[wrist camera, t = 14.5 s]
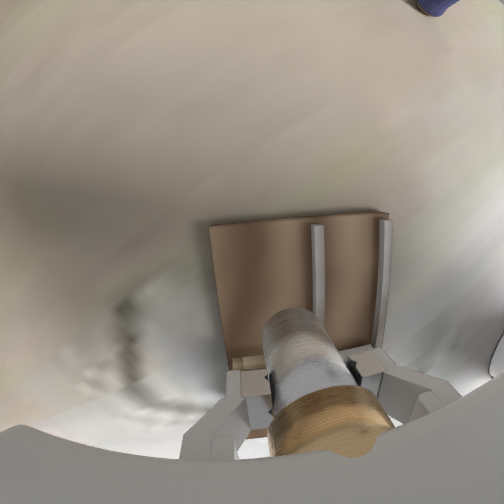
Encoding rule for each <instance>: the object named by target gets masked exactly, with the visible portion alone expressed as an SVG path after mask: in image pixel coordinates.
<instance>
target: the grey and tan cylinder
mask: <svg viewBox="0 0 504 504" xmlns="http://www.w3.org/2000/svg"><path fill="white" fill-rule="evenodd" d="M261 340H262V346H263V352H264V358H265V365H266V368H267V371H268V380H269V383H270V390H271V398H272V407H273V413H274V419H273V420H272V422H271V423H270V425H269V428H268V432H267V437H268V445H269V452H270V457H275V456H283V455H290V454H296V453H302V452H308V451H313V450H330V451H332V452H334V453H336V454H339V455H342V456H345V457H349V458H354V457H360V456H363V455H366V454H367V453H369V452H370V451H371V450H372V448H373V446H374V444H375V443H376V438H377V437H378V435H380V434H381V433H382V432H385V431H387V430H390V429H393V428H395V426H394V425H393V423H392V422H391V420H390V418H389V417H388V415H387V413H386V412H385V410H384V408H383V407H382V405H381V404H380V402H379V400H378V399H377V397H376V396H375V395H374V393H373V392H371V391H370V390H368V389H366V388H364V387H360V386H358V384H357V383H356V381H355V379H354V377H353V376H352V374H351V372H350V371H349V369H348V367H347V366H346V364H345V362H344V360H343V359H342V357H341V355H340V354H339V352H338V350H337V349H336V347H335V345H334V344H333V342H332V340H331V339H330V337H329V335H328V334H327V332H326V330H325V329H324V327H323V325H322V324H321V322H320V320H319V319H318V317H317V316H316V315H315V314H314V313H312V312H311V311H309V310H307V309H304V308H296V307H295V308H287V309H284V310H281V311H279V312H277V313H275V314H274V315H273V316H272V317H270V318H269V320H268V321H267V322H266V323H265V325H264V327H263V330H262V334H261Z"/></svg>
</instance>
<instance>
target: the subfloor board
mask: <svg viewBox="0 0 504 504" xmlns="http://www.w3.org/2000/svg"><path fill="white" fill-rule="evenodd" d="M209 233H210V241H211V249H212V257H213V265H214V273H215V281H216V288H217V295H218V302H219V309H220V316H221V322H222V329H223V335H224V342H225V348H226V354H227V360H228V366H229V371H231V370H233V360H232V358H241V357H251V356H260V355H264V352H263V346H262V340H261V334H262V330H263V327H264V325H265V323H266V322H267V321H268V320H269V318H270V317H272V316H273V315H274V314H275V313H277V312H279V311H281V310H284V309H287V308H295V307H296V308H304V309H307V310H309V311H311V312H312V313H314V314H315V315H316V316H317V317H318V319H319V320H320V322H321V324H322V325H323V327H324V329H325V330H326V332H327V334H328V335H329V337H330V339H331V340H332V342H333V344H334V345H335V347H336V349H337V350H338V351H343V350H347V349H352V348H356V347H361V346H365V345H369V344H370V345H371V346H372V347H373V348H377V347H382V341H383V335H384V328H385V321H386V313H387V304H388V294H389V283H390V269H391V247H392V220H389V213H384V212H368V213H351V214H336V215H322V216H308V217H296V218H284V219H272V220H261V221H250V222H240V223H230V224H220V225H211V226H210V227H209ZM267 432H268V428H262V429H254V430H251V431H250V433H249V434H248V436H247V437H246V439H253V438H263V437H267Z"/></svg>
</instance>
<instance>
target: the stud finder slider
mask: <svg viewBox="0 0 504 504" xmlns="http://www.w3.org/2000/svg"><path fill="white" fill-rule="evenodd" d="M370 349H374V348H373V347H372V346H371V345H370V344H369V345H365V346H361V347H356V348H352V349H347V350H343V351H338V352H339V354H340V355H341V357H342V359H343V360H345V357H346V355H350V354H354V353H359V352H363V351H367V350H370Z"/></svg>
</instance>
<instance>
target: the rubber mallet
mask: <svg viewBox="0 0 504 504" xmlns="http://www.w3.org/2000/svg"><path fill="white" fill-rule="evenodd" d="M458 1H459V0H417V6H418V7H419V9H420V10H421V11H422V12H423V13H425V14H426V15H428V16H433V17H438V16H441V15H442V14H443V13H444V12H445V11H446V9H447V8H448V7H450V6H451V5H453V4H454V3H456V2H458Z"/></svg>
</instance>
